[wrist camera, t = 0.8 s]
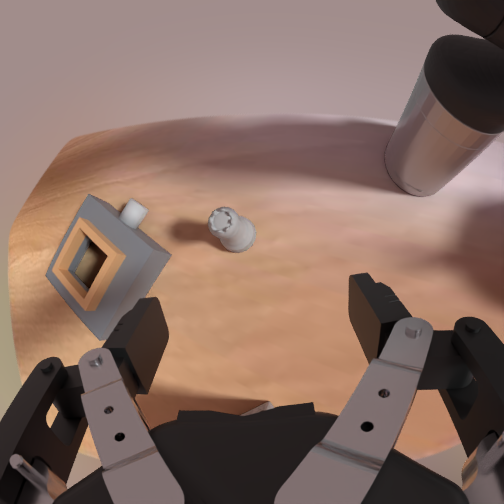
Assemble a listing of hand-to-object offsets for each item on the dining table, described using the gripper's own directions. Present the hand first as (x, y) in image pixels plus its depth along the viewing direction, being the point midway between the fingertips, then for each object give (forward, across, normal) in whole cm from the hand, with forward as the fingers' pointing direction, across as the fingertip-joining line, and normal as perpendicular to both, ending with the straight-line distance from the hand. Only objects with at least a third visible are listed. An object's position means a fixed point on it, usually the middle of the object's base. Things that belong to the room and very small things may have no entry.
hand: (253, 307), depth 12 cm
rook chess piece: (+25, +3, +5) cm, 26 cm away
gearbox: (+26, +21, +6) cm, 34 cm away
